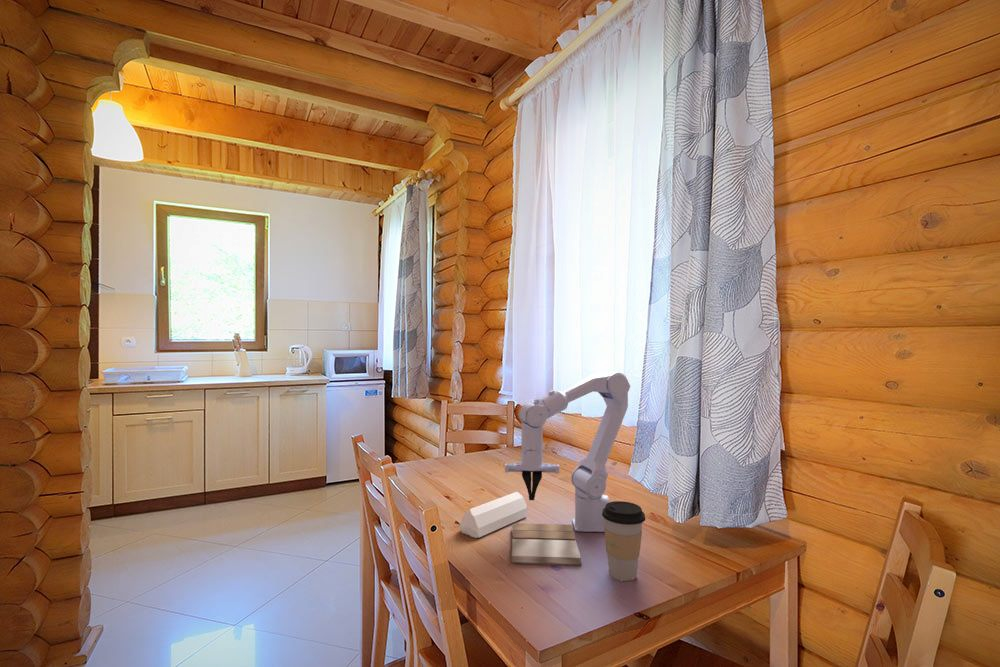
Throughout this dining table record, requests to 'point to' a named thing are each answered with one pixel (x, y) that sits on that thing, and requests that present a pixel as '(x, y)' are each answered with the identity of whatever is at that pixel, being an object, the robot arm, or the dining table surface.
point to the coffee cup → (623, 538)
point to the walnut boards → (543, 531)
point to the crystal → (493, 515)
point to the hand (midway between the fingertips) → (531, 499)
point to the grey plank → (545, 551)
